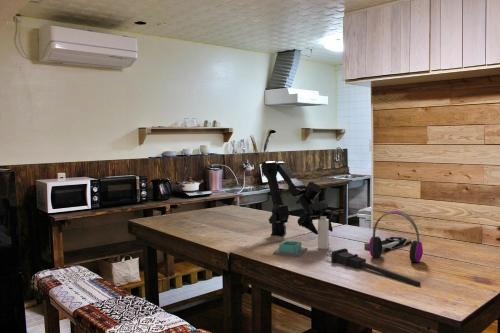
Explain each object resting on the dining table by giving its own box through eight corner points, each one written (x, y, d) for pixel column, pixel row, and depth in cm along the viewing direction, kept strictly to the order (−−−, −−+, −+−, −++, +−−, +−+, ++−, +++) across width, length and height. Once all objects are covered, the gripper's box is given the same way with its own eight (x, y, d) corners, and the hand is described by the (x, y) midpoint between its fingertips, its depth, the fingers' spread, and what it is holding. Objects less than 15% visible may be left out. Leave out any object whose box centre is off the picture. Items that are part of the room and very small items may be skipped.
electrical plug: (337, 256, 180) (338, 245, 180) (426, 288, 146) (426, 274, 146) (322, 260, 175) (323, 248, 175) (410, 294, 141) (411, 279, 141)
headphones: (423, 260, 173) (424, 211, 171) (420, 266, 165) (421, 215, 164) (372, 253, 183) (372, 208, 182) (367, 258, 176) (367, 211, 174)
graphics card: (364, 243, 190) (394, 234, 206) (364, 250, 191) (394, 240, 206) (383, 247, 183) (414, 237, 198) (383, 255, 183) (414, 244, 199)
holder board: (273, 254, 185) (272, 245, 185) (282, 247, 196) (281, 239, 196) (299, 256, 180) (299, 247, 180) (307, 249, 191) (307, 241, 191)
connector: (318, 248, 193) (317, 216, 192) (320, 246, 197) (320, 215, 196) (326, 249, 192) (326, 217, 191) (328, 246, 195) (328, 215, 194)
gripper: (301, 197, 191) (318, 225, 183) (330, 193, 202) (348, 219, 193) (290, 211, 198) (306, 239, 190) (319, 207, 209) (335, 233, 200)
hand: (324, 232), depth 193 cm, fingers open, 9 cm apart
